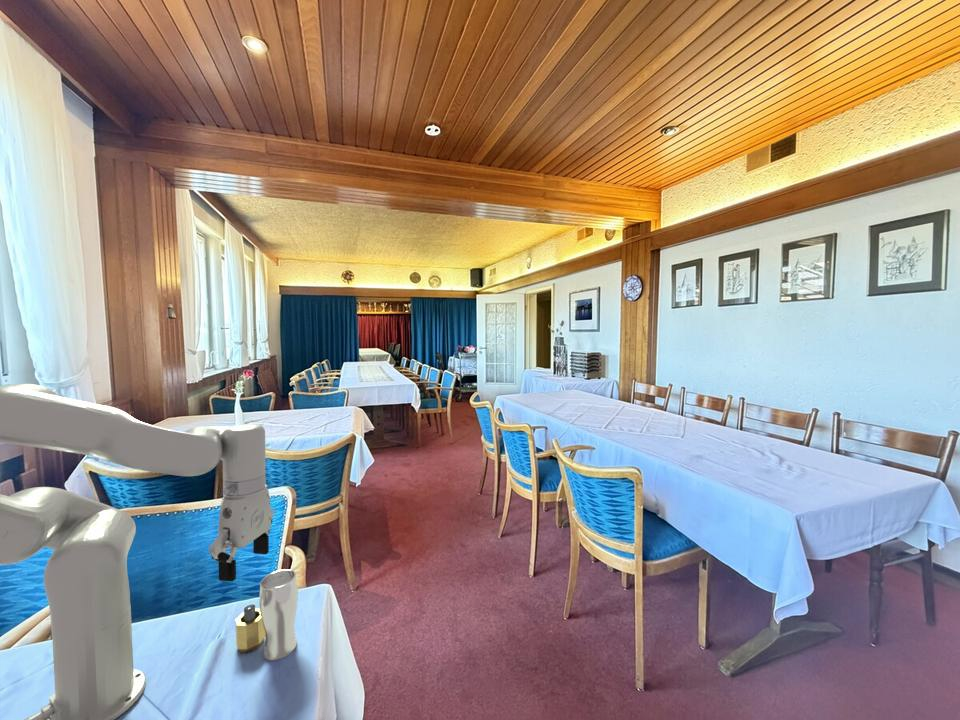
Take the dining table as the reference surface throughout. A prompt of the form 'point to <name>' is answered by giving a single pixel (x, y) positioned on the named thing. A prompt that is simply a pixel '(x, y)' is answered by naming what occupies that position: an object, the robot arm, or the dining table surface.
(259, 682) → the dining table surface
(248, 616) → the stand
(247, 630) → the brass ring
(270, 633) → the silver metal vase
